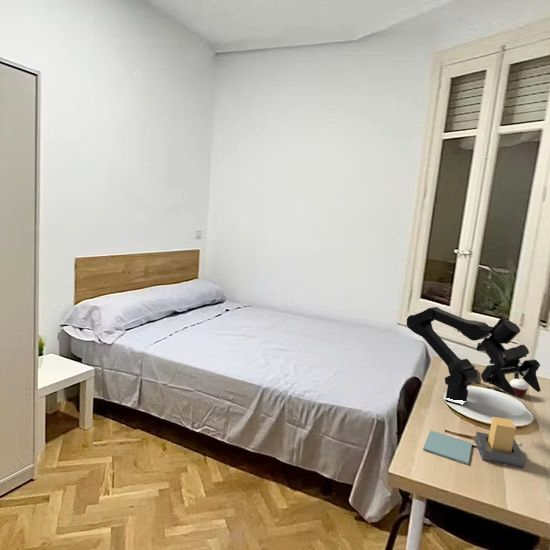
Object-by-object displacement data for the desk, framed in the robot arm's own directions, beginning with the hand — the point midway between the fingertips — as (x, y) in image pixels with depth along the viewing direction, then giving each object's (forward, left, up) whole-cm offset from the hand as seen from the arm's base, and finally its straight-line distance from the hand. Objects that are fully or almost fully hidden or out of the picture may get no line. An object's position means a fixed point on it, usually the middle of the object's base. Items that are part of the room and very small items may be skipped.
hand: (527, 393), depth 137 cm
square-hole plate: (-5, -14, -15) cm, 21 cm away
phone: (-18, +46, -16) cm, 52 cm away
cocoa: (0, +38, -15) cm, 41 cm away
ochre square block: (-5, -14, -15) cm, 21 cm away
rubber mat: (-18, -20, -15) cm, 31 cm away
